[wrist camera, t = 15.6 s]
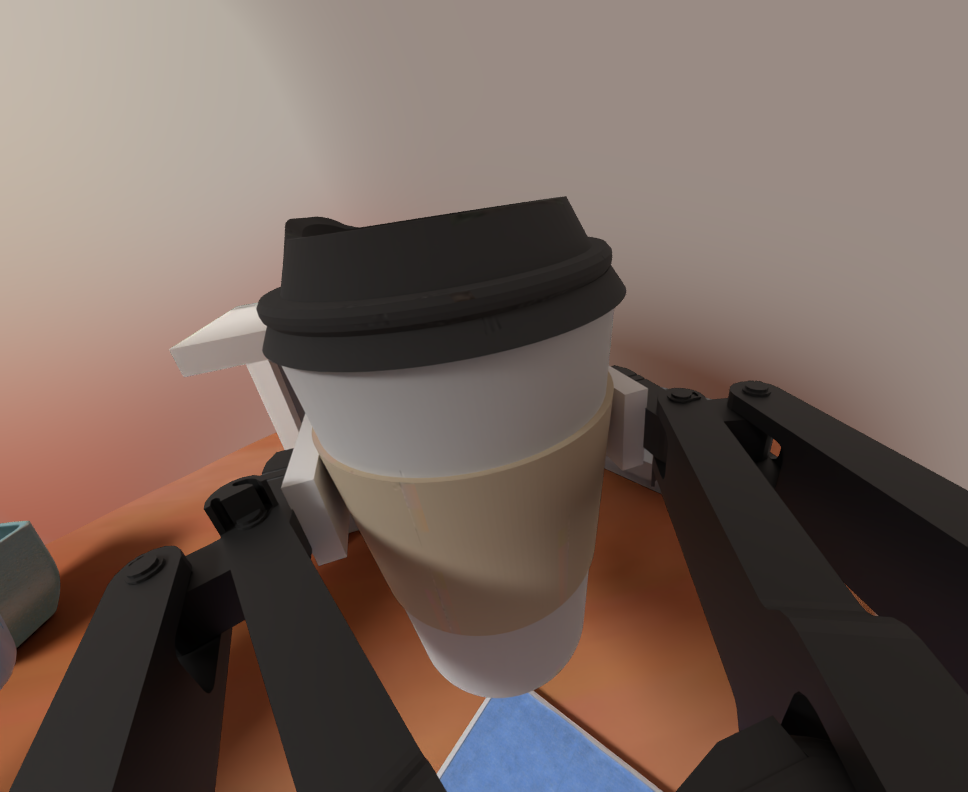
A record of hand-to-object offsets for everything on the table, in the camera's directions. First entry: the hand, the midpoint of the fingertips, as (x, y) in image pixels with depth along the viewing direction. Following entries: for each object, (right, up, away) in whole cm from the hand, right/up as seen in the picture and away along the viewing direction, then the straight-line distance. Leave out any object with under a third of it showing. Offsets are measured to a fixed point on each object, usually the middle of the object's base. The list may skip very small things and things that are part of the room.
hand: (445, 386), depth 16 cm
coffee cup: (+2, -9, 0) cm, 9 cm away
